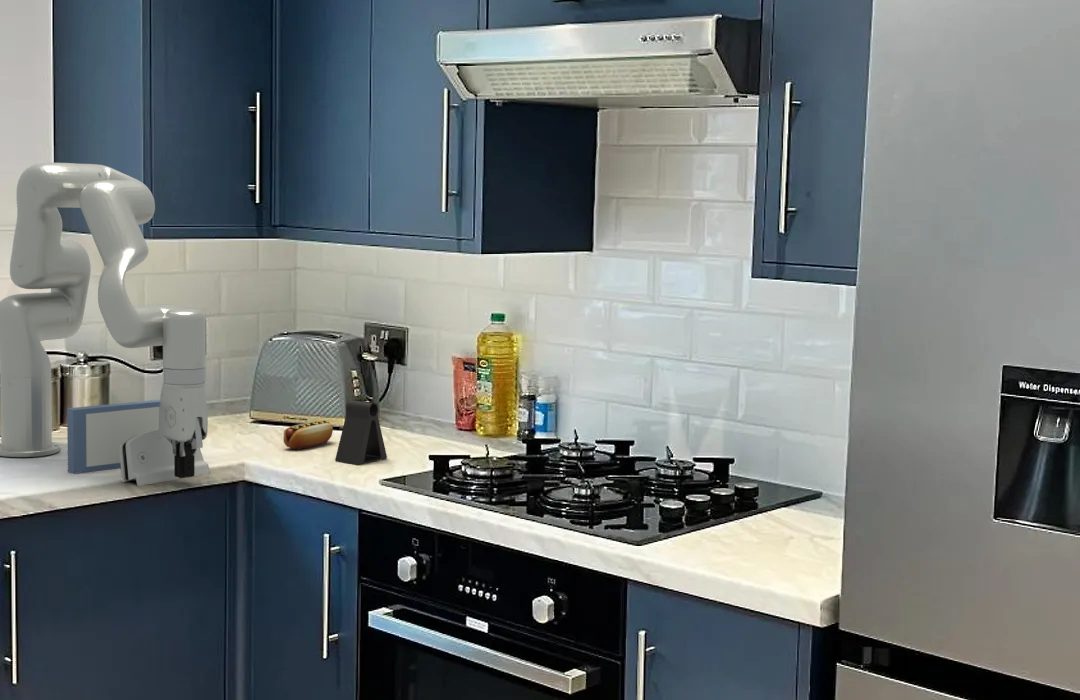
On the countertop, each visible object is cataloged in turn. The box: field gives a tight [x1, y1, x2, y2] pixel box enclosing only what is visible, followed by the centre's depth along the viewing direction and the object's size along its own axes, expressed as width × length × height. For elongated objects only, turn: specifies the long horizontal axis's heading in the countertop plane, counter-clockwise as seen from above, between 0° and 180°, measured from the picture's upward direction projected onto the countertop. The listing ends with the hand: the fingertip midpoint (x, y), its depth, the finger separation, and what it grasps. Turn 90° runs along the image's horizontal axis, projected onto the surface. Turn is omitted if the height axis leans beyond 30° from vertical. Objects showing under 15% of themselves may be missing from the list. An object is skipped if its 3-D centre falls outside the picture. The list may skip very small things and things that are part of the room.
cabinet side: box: [66, 399, 160, 474], centre depth 276 cm, size 3×24×12 cm, turn 134°
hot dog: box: [283, 420, 334, 450], centre depth 300 cm, size 5×13×5 cm, turn 150°
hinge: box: [119, 429, 211, 487], centre depth 267 cm, size 17×5×10 cm, turn 141°
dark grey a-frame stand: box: [334, 398, 388, 466], centre depth 287 cm, size 9×6×12 cm, turn 146°
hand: (184, 476), depth 262 cm, fingers closed
